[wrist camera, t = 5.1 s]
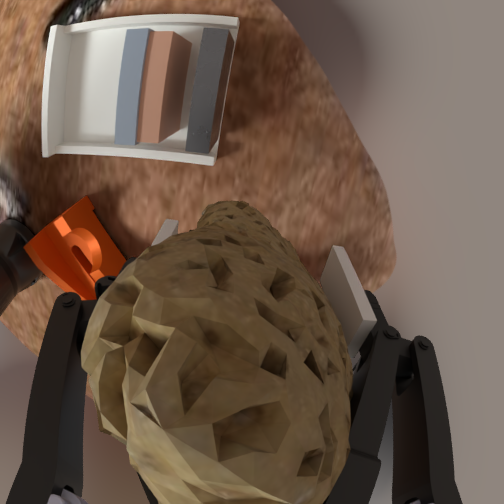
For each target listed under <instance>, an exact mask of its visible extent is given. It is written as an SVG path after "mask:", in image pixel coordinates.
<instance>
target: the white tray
mask: <svg viewBox="0 0 504 504" xmlns="http://www.w3.org/2000/svg"><path fill="white" fill-rule="evenodd" d="M239 24H240V23H239V18H238V17H229V16H217V15H201V14H153V15H136V16H125V17H115V18H107V19H100V20H94V21H88V22H82V23H77V24H72V25H68V26H61V25H55V26H51V29H50V34H49V40H48V47H47V54H46V61H45V70H44V81H43V96H42V157H50V156H52V155H54V154H88V155H108V156H123V157H136V158H148V159H159V160H169V161H178V162H187V163H195V164H203V165H210V166H213V165H214V163H215V161H216V159H217V152H218V145H219V138H220V131H221V125H222V118H223V112H224V106H225V100H226V94H227V88H228V82H229V76H230V71H231V65H232V60H233V55H234V49H235V44H236V39H237V34H238V29H239ZM204 27H207V28H220V29H229V31H230V33H231V35H232V37H233V39H234V42H235V43H234V48H233V53H232V59H231V64H230V70H229V75H228V81H227V87H226V93H225V99H224V105H223V111H222V117H221V124H220V130H219V137H218V141H217V142H216V144H215V145H214V146H213V148H212V149H211V151H210V152H209V154H205V153H197V152H188V151H185V148H186V139H187V130H188V122H189V115H190V107H191V100H192V93H193V86H194V80H195V73H196V67H197V61H198V56H199V50H200V45H201V39H202V34H203V29H204ZM140 28H150V29H152V30H154V31H174V32H175V33H177V34H179V35H180V36H182V37H183V38H185V39H186V40H188V41H189V42H191V43H192V47H191V53H190V59H189V65H188V71H187V77H186V84H185V91H184V98H183V105H182V113H181V121H180V130H179V131H177V132H176V133H174V134H172V135H171V136H169V137H168V138H166V139H164V140H163V141H161V142H160V143H145V142H140V143H138V144H137V145H118V144H114V142H115V122H116V107H117V96H118V86H119V77H120V69H121V62H122V55H123V49H124V43H125V37H126V31H127V29H140Z"/></svg>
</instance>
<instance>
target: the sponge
mask: <svg viewBox="0 0 504 504" xmlns="http://www.w3.org/2000/svg"><path fill="white" fill-rule="evenodd" d="M81 364H82V368H83V369H84V370H85V371H86V372H87V373H88V374H89V375H90V378H89V379H88V381H89V384H90V387H91V389H92V392H93V399H94V403H95V406H96V409H97V414H98V423H99V430H100V431H101V432H104V433H106V434H109V435H112V436H113V437H114V438H116V439H117V440H119V441H120V442H122V443H124V444H125V445H127V451H128V452H129V457H130V464H131V466H132V467H134V469H135V470H136V471H137V472H138V473H139V474H140V475H141V477H142V479H143V480H144V481H145V483H146V484H147V486H148V487H149V489H150V490H151V491H152V493H153V494H154V496H155V497H156V498H157V500H158V503H159V504H323V502H324V501H325V500H326V498H327V497H328V496H329V494H330V492H331V490H332V488H333V487H334V485H335V483H336V481H337V479H338V477H339V475H340V473H341V472H342V470H343V468H344V466H345V463H346V461H347V458H348V455H349V452H350V445H349V440H348V438H349V432H350V426H351V418H350V401H351V399H352V397H353V389H352V383H353V370H352V363H351V359H350V356H349V353H348V347H347V343H346V340H345V337H344V334H343V331H342V326H341V323H340V322H339V320H338V318H337V317H336V315H335V313H334V311H333V308H332V306H331V304H330V302H329V300H328V298H327V297H326V295H325V293H324V292H323V290H322V289H321V287H320V286H319V284H318V282H317V281H316V280H315V279H314V278H313V277H312V276H311V275H310V274H309V272H308V271H307V269H306V268H305V266H304V265H303V264H302V262H301V261H300V259H299V257H298V255H297V253H296V250H295V249H294V247H293V246H292V244H291V243H290V241H287V240H286V239H285V238H283V237H282V236H281V234H280V233H279V232H278V230H276V229H275V228H273V227H272V226H271V224H270V222H269V220H268V219H267V218H266V217H265V216H263V215H262V214H261V213H260V212H259V211H258V210H257V209H255V208H253V207H251V206H249V204H248V203H246V202H243V201H240V202H239V201H219V202H217V203H215V204H210V205H208V206H207V207H206V209H205V210H204V211H203V213H202V217H201V218H200V220H199V221H198V223H197V229H195V230H190V231H189V232H185V233H180V234H176V235H172V236H169V237H168V238H167V239H165V240H164V241H162V242H161V243H159V244H156V245H153V246H150V247H148V248H147V249H146V250H145V251H144V252H143V253H142V254H141V255H140V256H139V257H138V258H137V259H136V260H135V261H133V262H132V263H130V264H128V265H127V266H126V267H125V269H124V270H123V271H122V272H121V273H120V274H119V275H118V277H117V278H116V279H115V281H114V282H113V283H112V284H111V285H110V286H109V287H108V288H107V290H106V291H105V292H104V293H103V294H102V295H101V296H100V298H99V299H98V302H97V304H96V306H95V308H94V310H93V313H92V315H91V317H90V319H89V322H88V326H87V330H86V333H85V337H84V341H83V345H82V349H81Z"/></svg>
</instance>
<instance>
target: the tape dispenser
mask: <svg viewBox="0 0 504 504" xmlns="http://www.w3.org/2000/svg"><path fill="white" fill-rule="evenodd" d="M93 209H95V208H94V206H93V204H92V203H91V201H90V200H89V198H88V196H87V195H86V196H85V197H84V198H82V199H81V200H79V201H78V202H77V203H75V204H74V205H72V206H71V207H70V208H68V209H67V210H66V211H64V212H63V213H62V214H60V215H59V216H58V217H57V218H55V219H54V220H53V221H51V222H50V223H49V224H48V225H46V226H45V227H44V228H43V229H42V230H41V231H40V232H39V233H38V234H37V235H35V236H34V237H33V238H32V239H31V240H30V241H29V242H28V243H27V244H26V245H25V246H24V247H23V248H24V249H25V251H26V252H27V253H28V255H29V256H30V258H31V259H32V261H33V262H34V263H35V265H36V266H37V267H38V269H39V270H41V271H42V272H43V273H44V274H45V275H46V276H47V277H48V278H50V279H51V280H52V281H53V282H54V283H55V284H57V285H58V286H59V287H60V288H61V289H63V290H64V291H65V292H75V293H77V294H78V295H79V296H80V297H81V300H95V299H97V298H96V293H95V288H94V286H95V283H96V281H97V280H98V279H100V278H101V277H104V276H116V277H117V275H118V274H119V272H120V270H121V269H122V267H123V265H124V263H125V262H126V259H125V258H124V257H123V255H122V254H121V252H120V251H119V250H118V248H117V247H116V245H115V244H114V242H113V241H112V240H111V238H110V237H109V235H108V234H107V232H106V231H105V229H104V228H103V226H102V225H101V223H100V222H99V220H98V219H97V217H96V215H95V214H94V212H93V211H92V210H93ZM81 250H82V251H81ZM84 254H85V255H84ZM87 258H88V259H87ZM89 261H90V262H89ZM92 265H93V266H92Z"/></svg>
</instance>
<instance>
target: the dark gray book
mask: <svg viewBox="0 0 504 504" xmlns="http://www.w3.org/2000/svg"><path fill="white" fill-rule="evenodd" d="M234 43H235V42H234V39H233V37H232V35H231V33H230V31H229V29H220V28H207V27H204V29H203V34H202V39H201V45H200V50H199V56H198V61H197V67H196V73H195V80H194V86H193V93H192V100H191V107H190V115H189V122H188V130H187V139H186V148H185V151H188V152H197V153H205V154H209V152H210V151H211V149H212V148H213V146H214V145H215V144H216V142H217V141H218V137H219V130H220V124H221V117H222V111H223V105H224V99H225V93H226V87H227V81H228V75H229V70H230V64H231V59H232V53H233V48H234Z"/></svg>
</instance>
